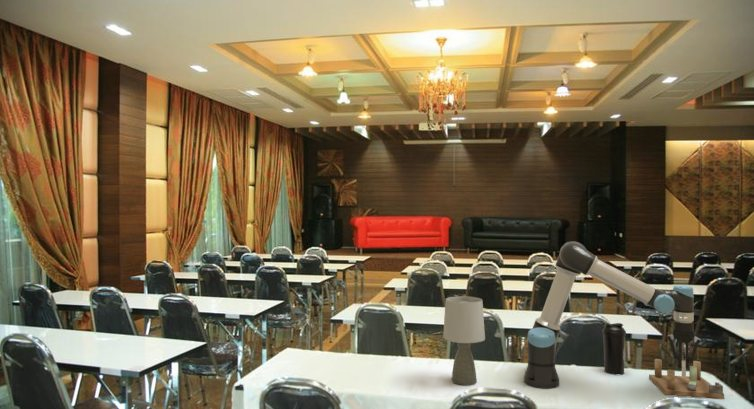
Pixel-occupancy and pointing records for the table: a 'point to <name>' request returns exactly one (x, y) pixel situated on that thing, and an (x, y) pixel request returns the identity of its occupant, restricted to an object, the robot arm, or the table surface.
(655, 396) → the table surface
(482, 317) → the lamp
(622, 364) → the water bottle
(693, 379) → the hinged leg
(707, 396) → the stool seat
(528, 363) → the robot arm
